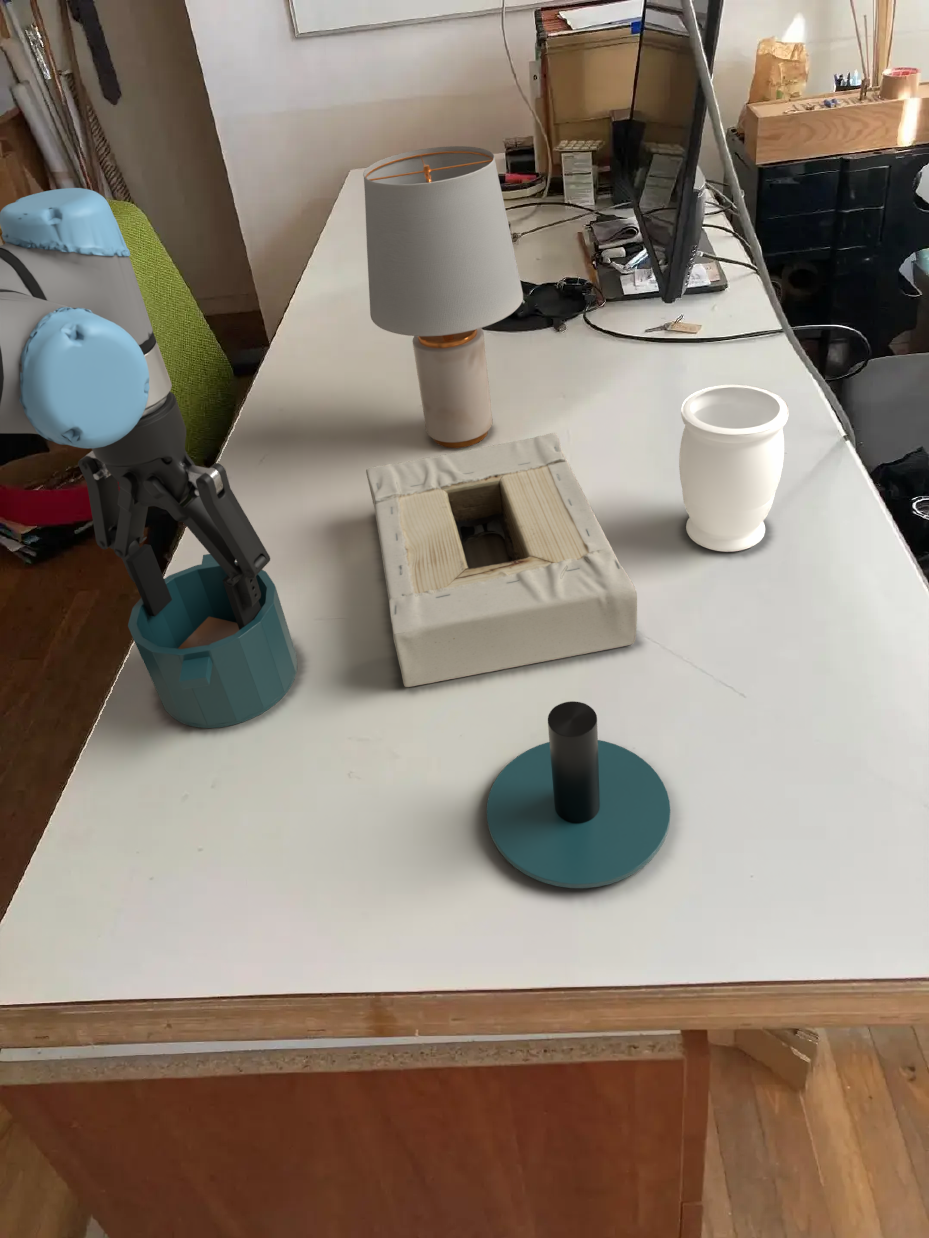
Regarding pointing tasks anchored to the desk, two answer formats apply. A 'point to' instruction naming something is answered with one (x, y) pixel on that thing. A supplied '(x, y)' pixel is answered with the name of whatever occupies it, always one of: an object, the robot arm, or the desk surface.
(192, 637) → the block
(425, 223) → the lamp
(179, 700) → the pot
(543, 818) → the lid
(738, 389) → the jar
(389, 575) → the box
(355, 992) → the desk surface
